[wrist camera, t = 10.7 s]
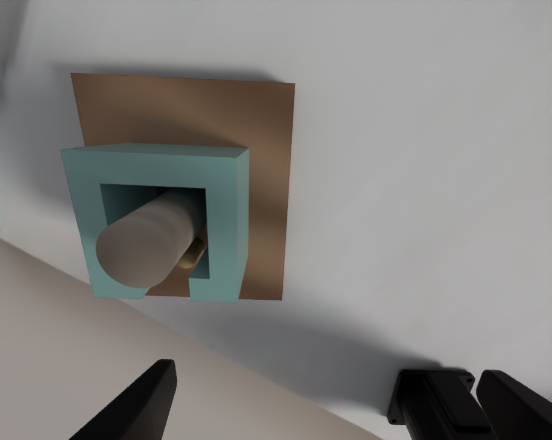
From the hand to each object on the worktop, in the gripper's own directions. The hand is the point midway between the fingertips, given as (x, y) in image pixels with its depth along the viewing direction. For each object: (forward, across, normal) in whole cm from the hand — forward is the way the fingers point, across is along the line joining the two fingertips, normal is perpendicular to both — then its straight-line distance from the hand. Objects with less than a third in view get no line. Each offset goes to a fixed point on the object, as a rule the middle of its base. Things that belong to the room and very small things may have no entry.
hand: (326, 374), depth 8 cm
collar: (+10, +7, -2) cm, 12 cm away
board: (+11, +7, -2) cm, 14 cm away
